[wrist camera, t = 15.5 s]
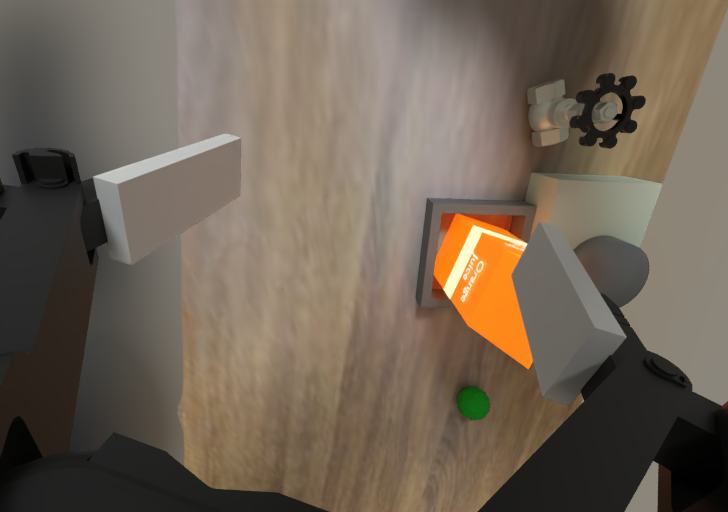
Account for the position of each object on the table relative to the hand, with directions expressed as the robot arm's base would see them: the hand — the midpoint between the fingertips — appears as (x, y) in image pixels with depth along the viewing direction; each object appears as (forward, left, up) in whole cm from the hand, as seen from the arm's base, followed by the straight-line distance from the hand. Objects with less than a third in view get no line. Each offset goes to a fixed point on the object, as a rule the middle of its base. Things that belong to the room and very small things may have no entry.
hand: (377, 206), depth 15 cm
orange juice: (+13, +17, -29) cm, 36 cm away
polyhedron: (+38, +21, -29) cm, 52 cm away
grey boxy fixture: (+13, +24, -29) cm, 40 cm away
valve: (-5, +23, -30) cm, 38 cm away
